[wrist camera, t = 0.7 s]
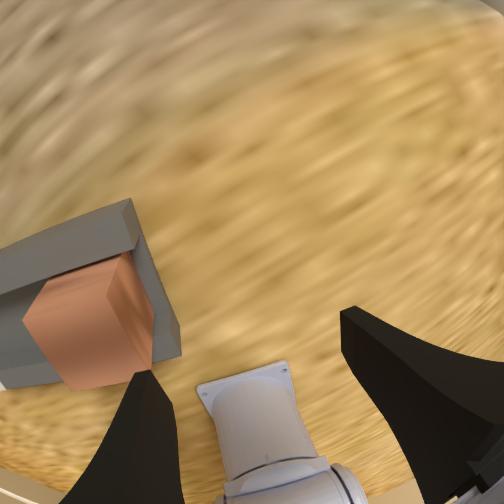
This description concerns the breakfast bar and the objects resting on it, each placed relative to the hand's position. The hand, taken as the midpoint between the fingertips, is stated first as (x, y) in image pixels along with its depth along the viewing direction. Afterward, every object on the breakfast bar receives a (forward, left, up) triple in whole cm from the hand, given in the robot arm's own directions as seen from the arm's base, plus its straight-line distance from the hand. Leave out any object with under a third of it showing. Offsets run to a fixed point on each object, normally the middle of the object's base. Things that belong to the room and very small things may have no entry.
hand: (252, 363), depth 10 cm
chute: (0, +13, -10) cm, 17 cm away
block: (0, +8, -10) cm, 12 cm away
